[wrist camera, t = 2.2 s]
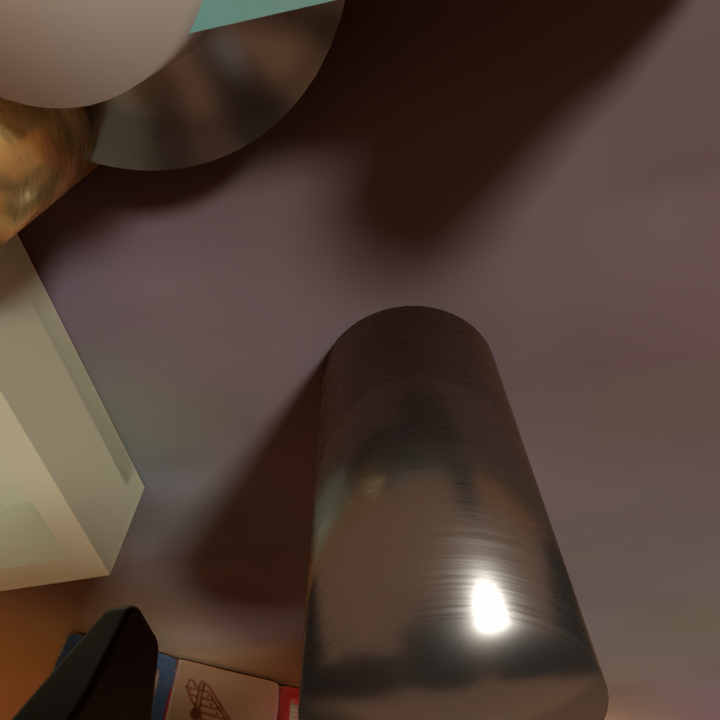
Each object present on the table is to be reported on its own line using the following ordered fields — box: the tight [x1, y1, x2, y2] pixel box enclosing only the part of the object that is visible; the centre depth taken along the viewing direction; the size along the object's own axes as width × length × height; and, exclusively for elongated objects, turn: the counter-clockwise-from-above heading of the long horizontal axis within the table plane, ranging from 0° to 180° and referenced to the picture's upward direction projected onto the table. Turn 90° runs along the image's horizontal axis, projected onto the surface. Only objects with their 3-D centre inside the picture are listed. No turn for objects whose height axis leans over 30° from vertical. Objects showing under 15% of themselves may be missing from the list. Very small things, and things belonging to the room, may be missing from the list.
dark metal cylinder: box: [298, 306, 608, 720], centre depth 11 cm, size 4×4×7 cm
